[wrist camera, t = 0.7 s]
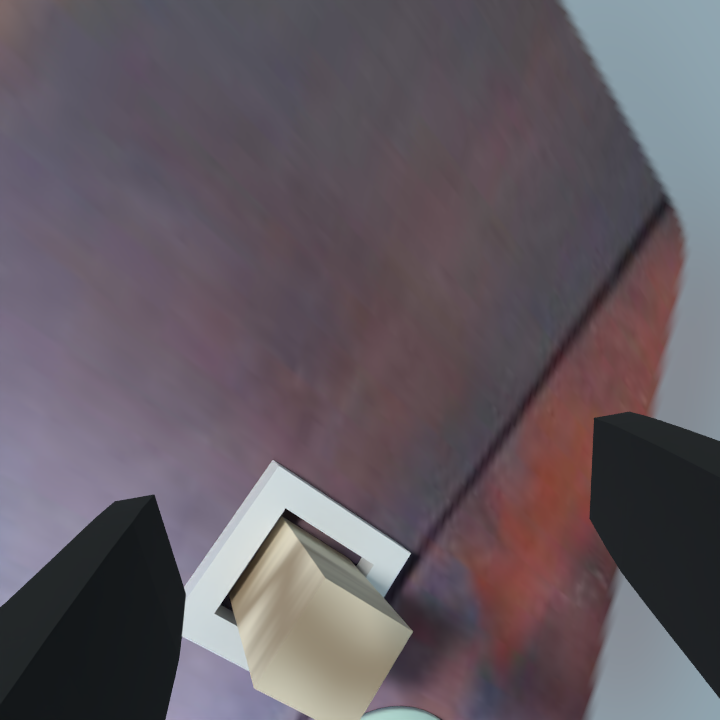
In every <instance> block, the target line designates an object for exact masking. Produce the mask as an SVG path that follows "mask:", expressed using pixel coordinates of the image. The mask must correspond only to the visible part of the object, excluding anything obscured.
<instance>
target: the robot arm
mask: <svg viewBox="0 0 720 720" xmlns="http://www.w3.org/2000/svg"><path fill="white" fill-rule="evenodd" d="M590 520H591V522H592V524H593V525H594V527H595V529H596V531H597V532H598V534H599V536H600V538H601V539H602V541H603V543H604V545H605V546H606V548H607V550H608V551H609V553H610V555H611V556H612V558H613V559H614V561H615V563H616V564H617V566H618V568H619V569H620V571H621V572H622V574H623V575H624V576H625V578H626V579H627V580H628V582H629V583H630V584H631V586H632V587H633V588H634V590H635V591H636V592H637V593H638V594H639V596H640V597H641V599H642V600H643V601H644V602H645V604H646V605H647V606H648V608H649V609H650V610H651V611H652V613H653V614H654V615H655V616H656V618H657V619H658V621H659V622H660V623H661V624H662V626H663V627H664V628H665V629H666V631H667V632H668V633H669V634H670V636H671V637H672V638H673V639H674V641H675V642H676V643H677V645H678V646H679V647H680V648H681V650H682V651H683V652H684V654H685V655H686V656H687V657H688V659H689V660H690V661H691V662H692V664H693V665H694V666H695V668H696V669H697V670H698V671H699V673H700V674H701V675H702V676H703V678H704V679H705V680H706V682H707V683H708V684H709V685H710V687H711V688H712V689H713V690H714V692H715V693H716V694H717V696H718V697H719V698H720V441H717V440H715V439H712V438H709V437H706V436H703V435H701V434H698V433H695V432H692V431H690V430H687V429H684V428H681V427H678V426H675V425H672V424H669V423H666V422H663V421H660V420H657V419H654V418H651V417H647V416H644V415H640V414H636V413H632V412H625V413H620V414H614V415H608V416H602V417H597V418H594V433H593V455H592V477H591V500H590ZM185 599H186V593H185V590H184V586H183V583H182V580H181V577H180V574H179V571H178V568H177V564H176V561H175V558H174V555H173V552H172V549H171V545H170V542H169V539H168V536H167V533H166V530H165V527H164V523H163V520H162V517H161V514H160V511H159V508H158V505H157V501H156V498H155V495H149V496H143V497H138V498H132V499H126V500H120V501H115V502H114V503H112V504H111V505H110V506H109V507H108V508H106V509H105V510H104V511H103V512H102V513H101V514H99V515H98V516H97V517H96V518H95V519H94V520H93V521H92V522H91V523H90V524H89V525H88V526H86V527H85V528H84V529H83V530H82V531H81V532H80V533H79V534H78V535H77V536H76V537H75V538H74V539H73V540H72V541H71V542H70V543H69V544H67V545H66V546H65V547H64V548H63V549H62V550H61V551H60V552H59V553H58V554H57V555H56V556H55V557H54V558H53V559H52V560H51V561H50V562H49V563H47V564H46V565H45V566H44V567H43V568H42V569H41V570H40V571H39V572H38V573H37V574H36V575H35V576H34V577H33V578H31V579H30V580H29V581H28V582H27V583H26V584H25V585H24V586H23V587H22V588H21V589H20V590H19V591H18V592H17V593H16V594H14V595H13V596H12V597H11V598H10V599H9V600H8V601H7V602H6V603H5V604H4V605H2V606H1V607H0V720H165V719H166V714H167V710H168V706H169V701H170V697H171V693H172V688H173V684H174V680H175V675H176V671H177V666H178V661H179V656H180V647H181V639H182V631H183V621H184V610H185Z"/></svg>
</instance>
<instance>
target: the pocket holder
mask: <svg viewBox="0 0 720 720" xmlns="http://www.w3.org/2000/svg"><path fill="white" fill-rule="evenodd" d="M285 508H286V509H287V510H289V511H291V512H292V513H294V514H295V515H297V516H298V517H300V518H301V519H303V520H305V521H306V522H308V523H309V524H311V525H312V526H314V527H316V528H317V529H319V530H320V531H322V532H323V533H325V534H327V535H328V536H330V537H331V538H333V539H334V540H336V541H337V542H339V543H341V544H342V545H344V546H345V547H347V548H348V549H350V550H352V551H353V552H355V553H356V554H358V555H359V556H361V557H362V558H361V560H360V561H359V563H358V564H357V566H356V567H357V568H358V569H359V571H360V572H361V573H362V574H363V575H364V576H365V577H366V579H367V580H368V581H369V582H370V583H371V584H372V585H373V586H374V588H375V589H376V590H377V591H378V592H379V593H380V594H381V596H382V597H383V598H384V596H385V595H386V593H387V591H388V590H389V588H390V587H391V585H392V583H393V582H394V580H395V579H396V577H397V575H398V574H399V572H400V570H401V569H402V567H403V566H404V564H405V562H406V561H407V559H408V558H409V556H410V554H411V553H410V552H409V551H408V550H406V549H405V548H404V547H403V546H402V545H400V544H399V543H398V542H396V541H395V540H393V539H392V538H390V537H389V536H387V535H386V534H384V533H383V532H381V531H380V530H378V529H377V528H375V527H374V526H372V525H371V524H369V523H367V522H366V521H364V520H363V519H361V518H360V517H358V516H357V515H355V514H354V513H352V512H351V511H349V510H348V509H346V508H345V507H343V506H342V505H340V504H339V503H337V502H336V501H334V500H333V499H331V498H330V497H328V496H327V495H325V494H324V493H322V492H321V491H319V490H318V489H316V488H315V487H313V486H312V485H310V484H309V483H307V482H306V481H304V480H303V479H301V478H300V477H298V476H297V475H295V474H294V473H292V472H291V471H289V470H288V469H286V468H285V467H283V466H282V465H280V464H279V463H277V462H276V461H274V460H272V462H271V463H270V465H269V466H268V467H267V469H266V470H265V472H264V473H263V475H262V476H261V477H260V479H259V480H258V482H257V483H256V485H255V486H254V488H253V489H252V490H251V492H250V493H249V495H248V496H247V498H246V499H245V500H244V502H243V503H242V505H241V506H240V508H239V509H238V510H237V512H236V513H235V515H234V516H233V518H232V519H231V521H230V522H229V523H228V525H227V526H226V528H225V529H224V531H223V532H222V533H221V535H220V536H219V538H218V539H217V541H216V542H215V544H214V545H213V546H212V548H211V549H210V551H209V552H208V554H207V555H206V556H205V558H204V559H203V561H202V562H201V564H200V565H199V566H198V568H197V569H196V571H195V572H194V574H193V575H192V577H191V578H190V579H189V581H188V582H187V584H186V585H185V587H184V590H185V593H186V599H185V610H184V621H183V631H182V637H184V638H186V639H188V640H190V641H192V642H194V643H196V644H198V645H200V646H201V647H203V648H205V649H207V650H209V651H211V652H213V653H215V654H217V655H219V656H221V657H223V658H225V659H227V660H228V661H230V662H232V663H234V664H236V665H238V666H240V667H242V668H244V669H246V670H248V671H249V667H248V664H247V660H246V656H245V652H244V649H243V645H242V641H241V638H240V634H239V630H238V627H237V623H236V619H235V616H234V612H233V611H231V610H229V609H227V608H226V607H224V606H222V605H220V604H221V603H222V601H223V600H224V598H225V597H226V595H227V594H228V592H229V591H230V589H231V588H232V587H233V585H234V584H235V582H236V581H237V579H238V578H239V576H240V575H241V573H242V572H243V570H244V569H245V567H246V566H247V564H248V563H249V561H250V560H251V559H252V557H253V556H254V554H255V553H256V551H257V550H258V548H259V547H260V545H261V544H262V542H263V541H264V539H265V538H266V536H267V535H268V533H269V532H270V531H271V529H272V528H273V526H274V525H275V523H276V522H277V520H278V519H279V517H280V516H281V514H282V513H283V511H284V510H285Z"/></svg>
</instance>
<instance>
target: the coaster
mask: <svg viewBox="0 0 720 720" xmlns="http://www.w3.org/2000/svg"><path fill="white" fill-rule="evenodd" d="M360 720H441V719H439V718H438V717H436V716H435V715H433V714H431V713H429V712H427V711H425V710H422V709H418V708H414V707H407V706H392V707H385V708H380V709H376V710H373V711H370V712H367V713H364V714H363V716H362V717H361V719H360Z"/></svg>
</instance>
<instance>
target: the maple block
mask: <svg viewBox="0 0 720 720" xmlns="http://www.w3.org/2000/svg"><path fill="white" fill-rule="evenodd" d="M229 597H230V601H231V604H232V608H233V612H234V616H235V619H236V623H237V627H238V630H239V634H240V638H241V641H242V645H243V649H244V652H245V656H246V660H247V664H248V667H249V671H250V675H251V678H252V682H253V686H254V689H256V690H258V691H260V692H262V693H264V694H266V695H268V696H270V697H272V698H274V699H276V700H278V701H280V702H282V703H284V704H286V705H288V706H290V707H292V708H294V709H296V710H298V711H300V712H302V713H303V714H305V715H307V716H309V717H311V718H313V719H315V720H360V719H361V717H362V716H363V714H364V712H365V711H366V709H367V707H368V706H369V704H370V702H371V701H372V699H373V697H374V696H375V694H376V692H377V691H378V689H379V687H380V686H381V684H382V682H383V681H384V679H385V677H386V676H387V674H388V672H389V671H390V669H391V667H392V666H393V664H394V662H395V661H396V659H397V657H398V656H399V654H400V652H401V651H402V649H403V648H404V646H405V644H406V643H407V641H408V639H409V638H410V636H411V634H412V633H413V631H412V630H411V628H410V627H409V626H408V625H407V624H406V623H405V622H404V620H403V619H402V618H401V617H400V616H399V615H398V614H397V613H396V611H395V610H394V609H393V608H392V607H391V606H390V605H389V603H388V602H387V601H386V600H385V599H384V598H383V597H382V596H381V594H380V593H379V592H378V591H377V590H376V589H375V588H374V586H373V585H372V584H371V583H370V582H369V581H368V580H367V579H366V577H365V576H364V575H363V574H362V573H361V572H360V571H359V569H358V568H357V567H356V566H355V565H354V564H353V563H352V561H351V560H350V559H349V558H347V557H346V556H344V555H343V554H341V553H339V552H338V551H336V550H335V549H333V548H332V547H330V546H328V545H327V544H325V543H324V542H322V541H320V540H319V539H317V538H316V537H314V536H313V535H311V534H309V533H308V532H306V531H305V530H303V529H301V528H300V527H298V526H297V525H295V524H294V523H292V522H290V521H289V520H287V519H286V518H284V517H282V516H281V518H280V519H279V521H278V522H277V524H276V525H275V526H274V528H273V529H272V531H271V532H270V534H269V535H268V537H267V538H266V540H265V541H264V543H263V544H262V546H261V547H260V549H259V550H258V552H257V553H256V554H255V556H254V557H253V559H252V560H251V562H250V563H249V565H248V566H247V568H246V569H245V571H244V572H243V574H242V575H241V577H240V578H239V580H238V581H237V582H236V584H235V585H234V587H233V588H232V590H231V591H230V593H229Z"/></svg>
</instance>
